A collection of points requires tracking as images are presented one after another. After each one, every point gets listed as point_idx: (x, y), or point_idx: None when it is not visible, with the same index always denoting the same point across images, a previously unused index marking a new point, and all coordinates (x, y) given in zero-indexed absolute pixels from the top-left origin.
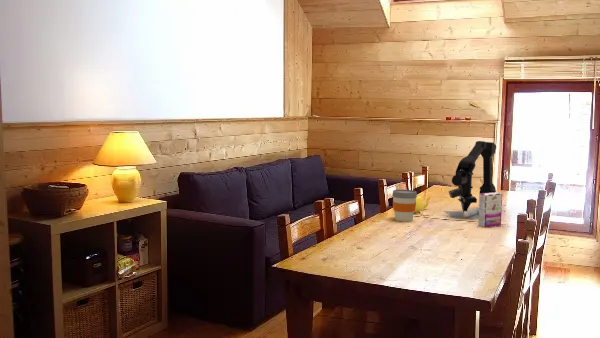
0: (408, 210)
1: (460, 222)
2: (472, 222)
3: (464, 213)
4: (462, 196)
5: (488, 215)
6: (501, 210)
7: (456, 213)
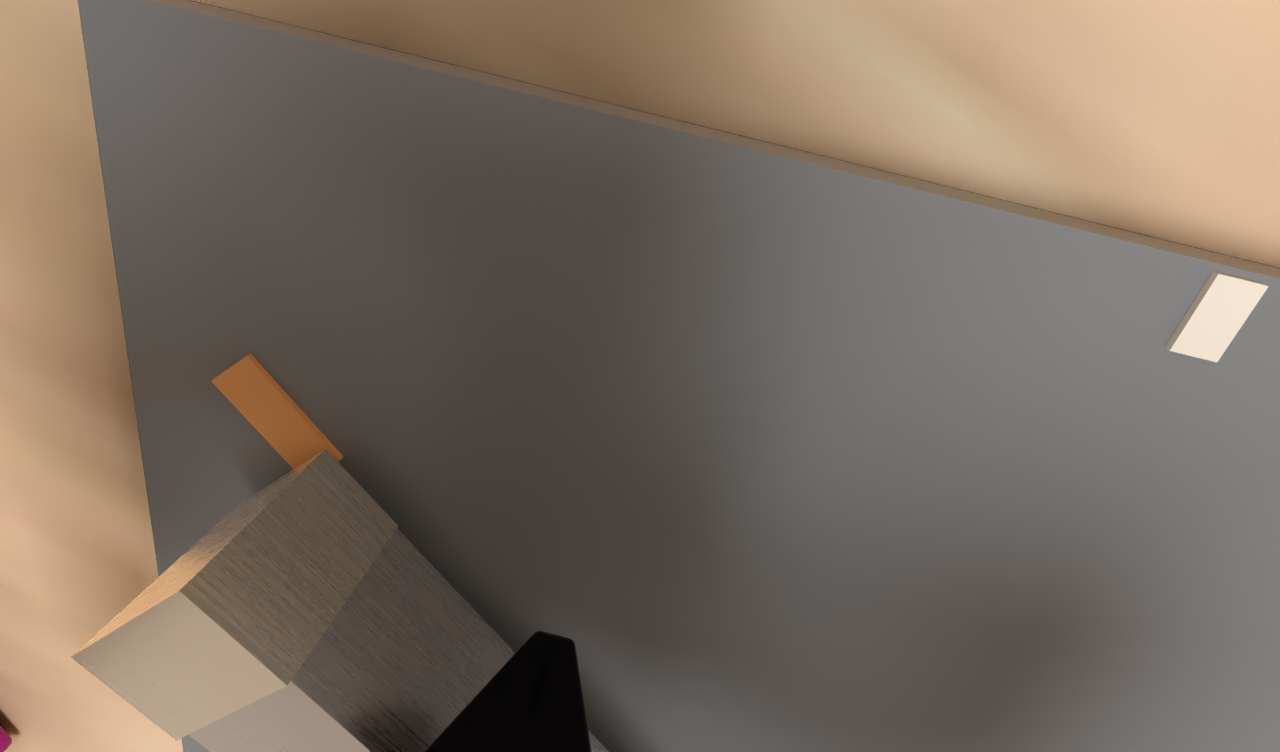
0: None
1: (34, 102)
2: (97, 448)
3: (226, 532)
4: None
5: None
6: None
7: (1003, 578)
